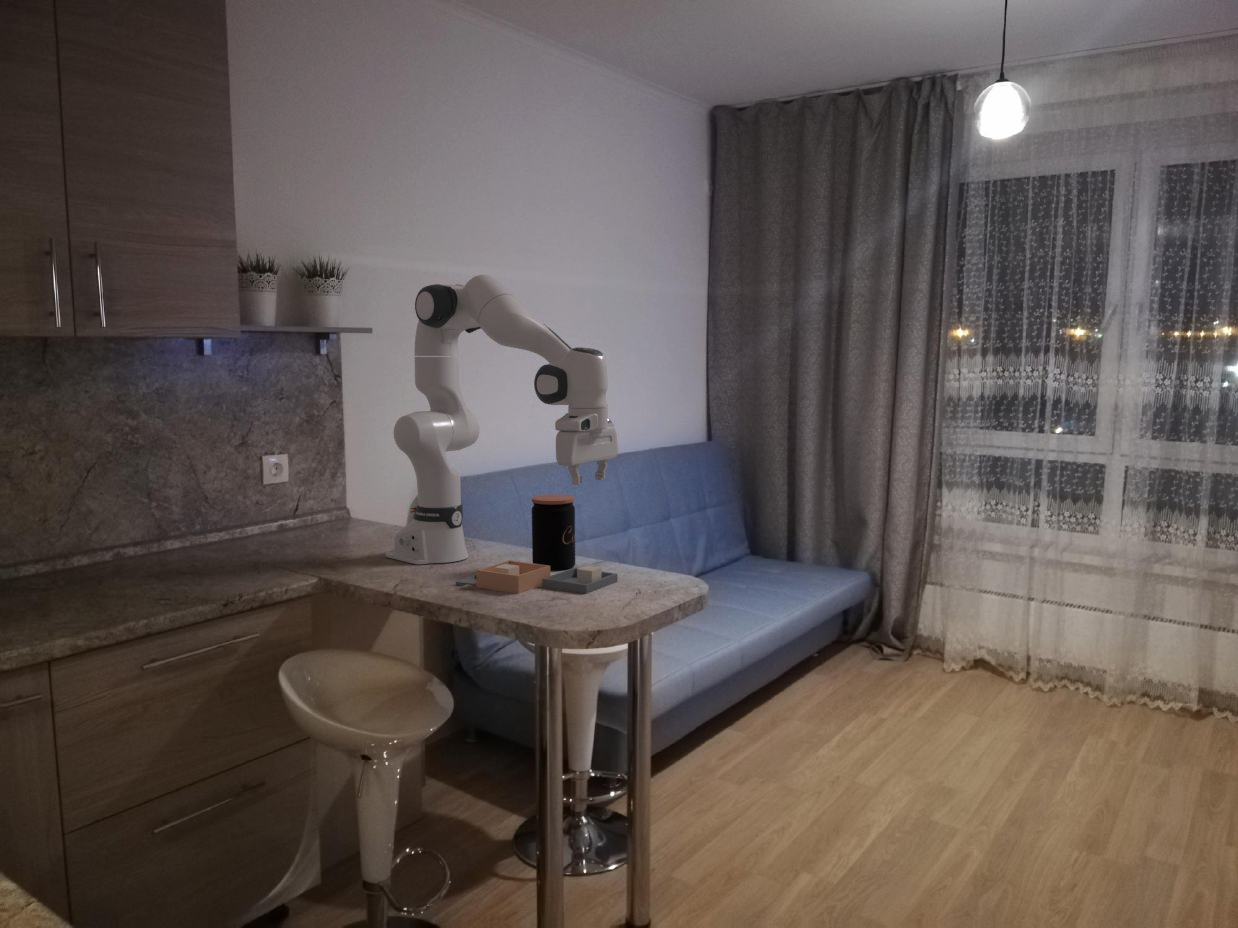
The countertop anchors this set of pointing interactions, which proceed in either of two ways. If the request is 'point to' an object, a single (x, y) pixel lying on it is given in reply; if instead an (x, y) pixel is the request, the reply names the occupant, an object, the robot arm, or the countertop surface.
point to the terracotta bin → (512, 577)
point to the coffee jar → (553, 531)
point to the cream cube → (508, 569)
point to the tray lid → (467, 581)
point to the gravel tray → (569, 582)
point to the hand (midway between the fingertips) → (588, 482)
